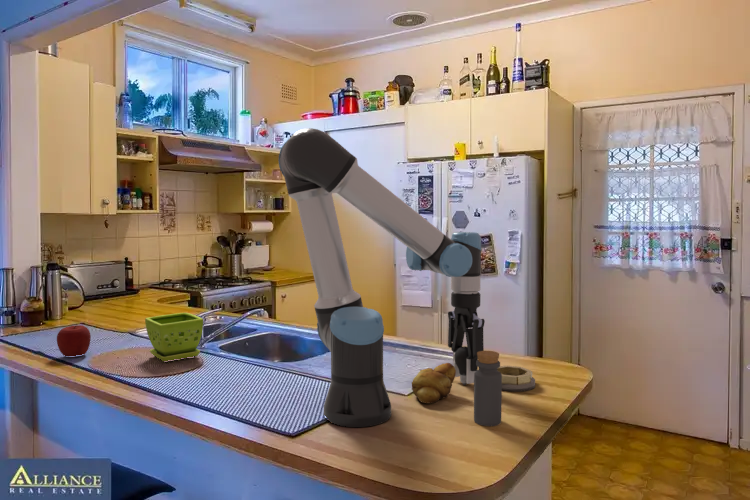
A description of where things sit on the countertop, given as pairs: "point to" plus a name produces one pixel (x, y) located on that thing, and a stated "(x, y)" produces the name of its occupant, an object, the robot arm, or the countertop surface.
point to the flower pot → (174, 335)
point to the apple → (73, 340)
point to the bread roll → (434, 383)
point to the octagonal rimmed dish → (516, 379)
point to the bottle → (487, 389)
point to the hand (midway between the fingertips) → (464, 379)
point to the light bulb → (462, 362)
